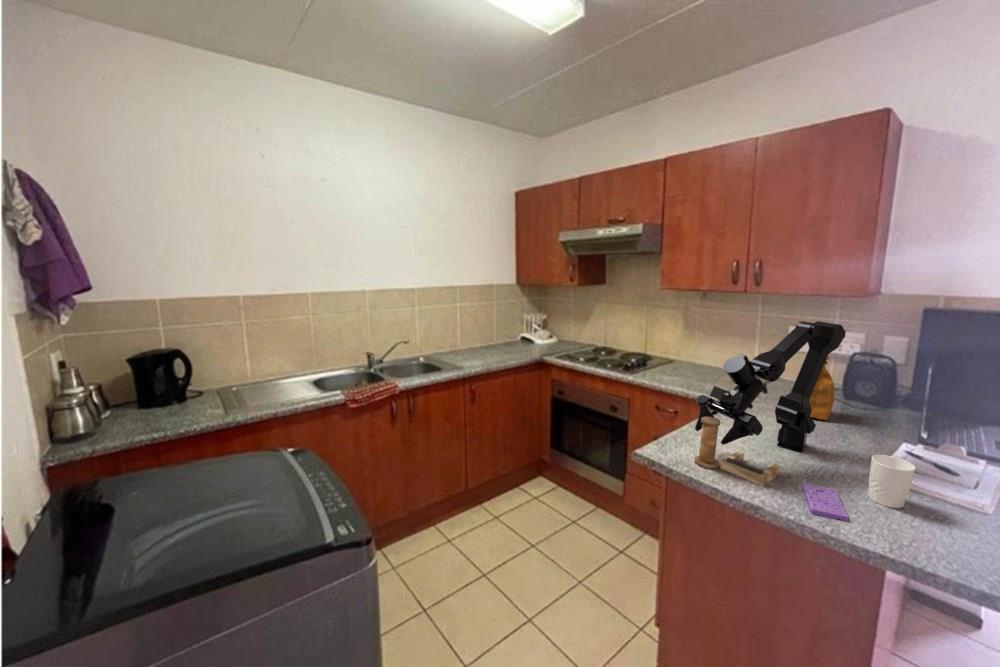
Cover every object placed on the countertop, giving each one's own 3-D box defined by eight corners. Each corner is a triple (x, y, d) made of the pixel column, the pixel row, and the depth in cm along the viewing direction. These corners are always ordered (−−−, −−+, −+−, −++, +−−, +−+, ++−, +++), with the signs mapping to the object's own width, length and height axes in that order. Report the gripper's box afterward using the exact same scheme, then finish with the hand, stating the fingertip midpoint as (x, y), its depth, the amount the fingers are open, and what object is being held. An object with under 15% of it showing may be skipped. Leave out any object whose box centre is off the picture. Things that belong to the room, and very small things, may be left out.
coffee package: (832, 413, 164) (842, 355, 159) (829, 423, 154) (839, 362, 150) (800, 407, 170) (809, 351, 166) (795, 416, 161) (804, 357, 156)
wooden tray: (738, 458, 128) (739, 447, 128) (779, 474, 120) (781, 463, 119) (720, 468, 122) (721, 457, 122) (762, 485, 114) (764, 474, 113)
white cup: (856, 492, 111) (863, 455, 109) (885, 490, 112) (892, 454, 110) (885, 510, 104) (893, 471, 102) (916, 509, 104) (925, 470, 102)
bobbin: (721, 464, 125) (726, 420, 122) (712, 471, 121) (717, 426, 118) (699, 456, 129) (704, 414, 127) (690, 463, 125) (695, 419, 123)
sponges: (835, 496, 110) (836, 489, 110) (847, 524, 99) (849, 516, 99) (801, 489, 113) (802, 482, 113) (809, 515, 102) (811, 508, 102)
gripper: (704, 367, 130) (670, 407, 129) (760, 387, 113) (722, 433, 112) (721, 391, 135) (689, 430, 133) (778, 413, 117) (741, 458, 116)
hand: (708, 436), depth 123 cm, fingers open, 9 cm apart
